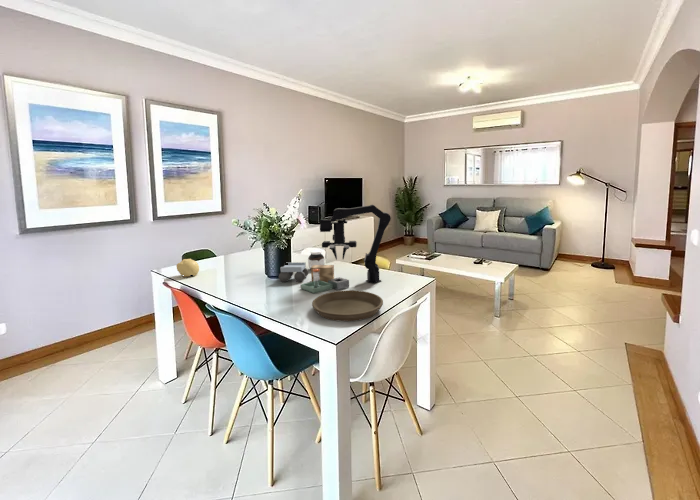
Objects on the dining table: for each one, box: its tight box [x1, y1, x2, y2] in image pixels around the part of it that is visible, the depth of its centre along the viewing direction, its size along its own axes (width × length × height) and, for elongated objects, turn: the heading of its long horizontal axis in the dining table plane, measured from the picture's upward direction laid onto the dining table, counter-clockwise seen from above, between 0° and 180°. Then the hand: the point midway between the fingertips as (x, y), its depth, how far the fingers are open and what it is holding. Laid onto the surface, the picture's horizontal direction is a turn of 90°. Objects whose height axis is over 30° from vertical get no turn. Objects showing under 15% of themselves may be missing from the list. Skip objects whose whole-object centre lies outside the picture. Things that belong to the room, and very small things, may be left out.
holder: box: [328, 276, 350, 291], centre depth 197 cm, size 8×8×4 cm
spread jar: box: [307, 249, 326, 270], centre depth 236 cm, size 12×11×12 cm
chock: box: [310, 264, 335, 283], centre depth 208 cm, size 12×6×9 cm, turn 86°
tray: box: [300, 280, 334, 295], centre depth 195 cm, size 12×12×2 cm
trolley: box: [278, 262, 309, 283], centre depth 214 cm, size 15×12×9 cm
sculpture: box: [176, 258, 200, 278], centre depth 229 cm, size 12×12×11 cm
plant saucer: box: [311, 289, 384, 322], centre depth 162 cm, size 31×31×5 cm
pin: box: [313, 269, 320, 288], centre depth 194 cm, size 4×4×10 cm
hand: (339, 259), depth 204 cm, fingers open, 3 cm apart
